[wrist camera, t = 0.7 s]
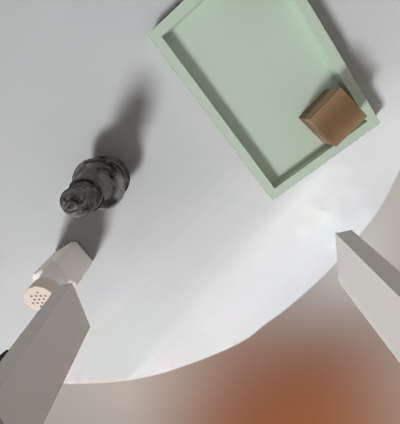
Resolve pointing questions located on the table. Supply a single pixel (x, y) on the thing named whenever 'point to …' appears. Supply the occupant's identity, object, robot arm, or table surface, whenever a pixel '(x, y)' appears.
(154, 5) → the table surface
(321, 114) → the walnut block
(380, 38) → the table surface
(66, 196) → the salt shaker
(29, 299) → the salt shaker
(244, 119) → the tray
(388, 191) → the table surface
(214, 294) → the table surface
